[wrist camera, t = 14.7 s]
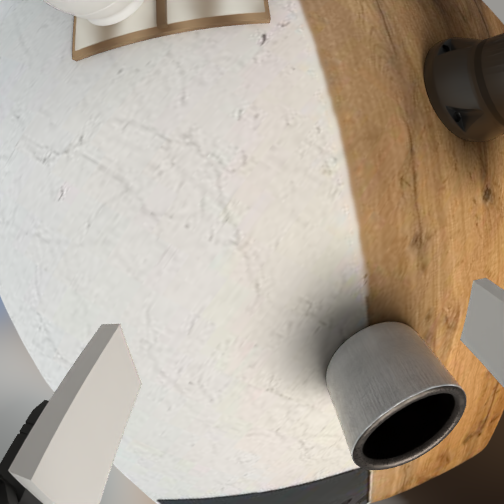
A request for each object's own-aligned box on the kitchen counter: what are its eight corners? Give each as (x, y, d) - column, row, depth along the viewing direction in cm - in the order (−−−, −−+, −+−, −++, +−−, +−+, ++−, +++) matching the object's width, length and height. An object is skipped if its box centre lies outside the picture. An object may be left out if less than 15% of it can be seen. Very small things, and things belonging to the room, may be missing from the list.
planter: (342, 412, 46) (367, 483, 31) (307, 351, 41) (333, 436, 27) (424, 368, 44) (467, 428, 29) (406, 298, 40) (467, 360, 25)
